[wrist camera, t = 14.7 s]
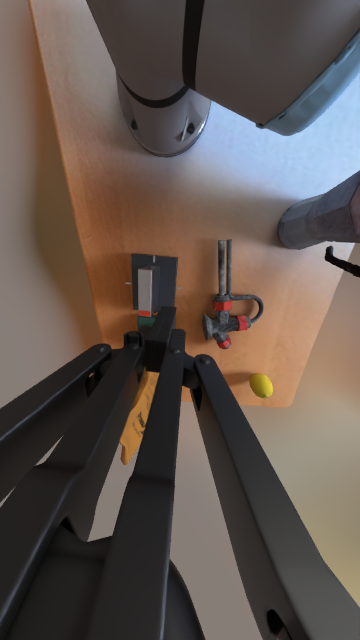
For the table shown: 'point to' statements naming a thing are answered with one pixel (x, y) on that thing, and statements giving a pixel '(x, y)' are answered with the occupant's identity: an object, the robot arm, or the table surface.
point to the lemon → (261, 385)
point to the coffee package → (138, 416)
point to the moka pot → (325, 221)
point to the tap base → (165, 278)
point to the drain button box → (146, 321)
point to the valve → (226, 305)
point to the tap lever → (148, 289)
